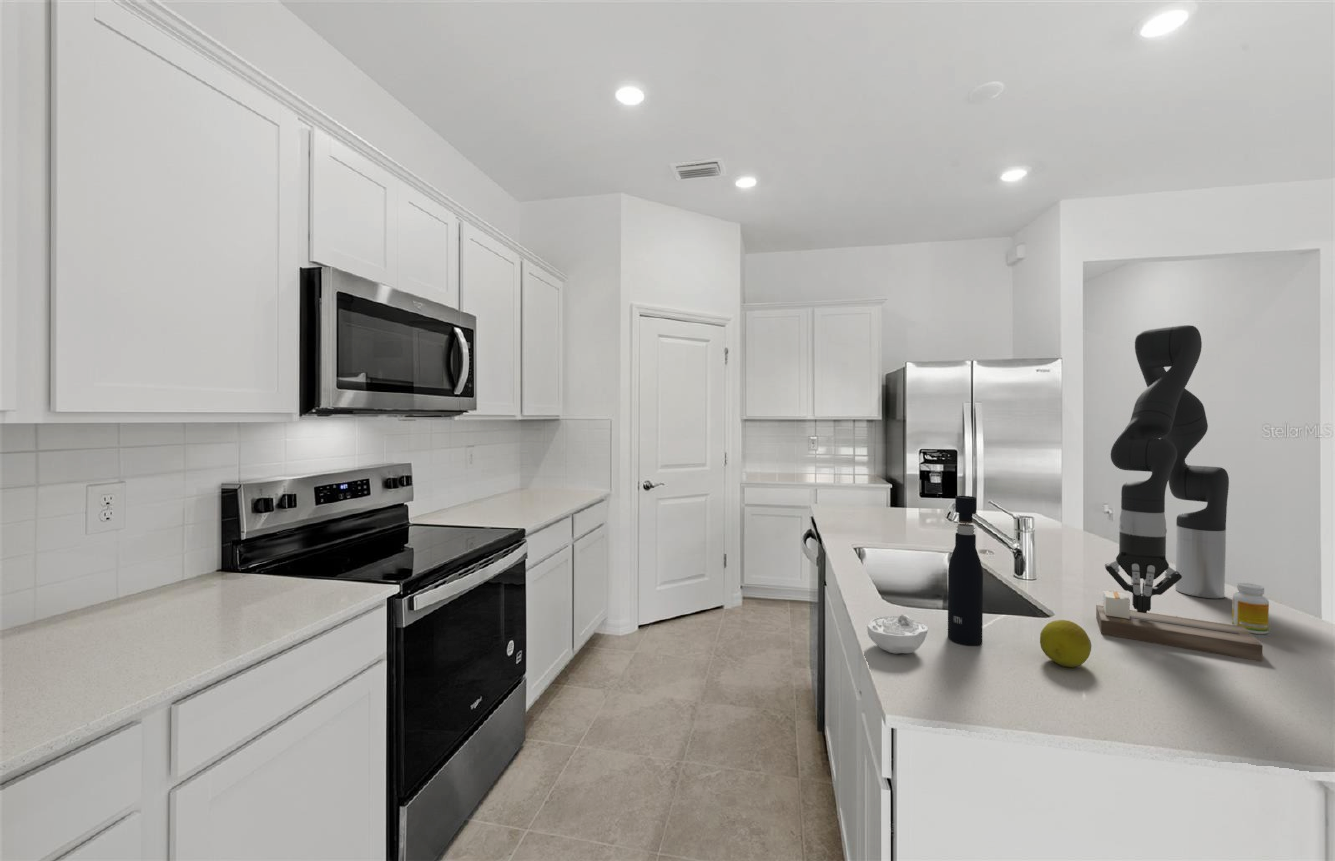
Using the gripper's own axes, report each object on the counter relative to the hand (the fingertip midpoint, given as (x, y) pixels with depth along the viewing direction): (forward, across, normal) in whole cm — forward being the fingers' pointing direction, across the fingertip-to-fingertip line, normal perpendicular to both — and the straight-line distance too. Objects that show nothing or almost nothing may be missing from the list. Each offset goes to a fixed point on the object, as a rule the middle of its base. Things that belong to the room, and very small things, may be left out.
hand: (1141, 611), depth 117 cm
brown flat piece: (+4, -5, 0) cm, 7 cm away
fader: (+2, +4, 0) cm, 4 cm away
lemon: (+5, +14, +26) cm, 30 cm away
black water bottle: (+5, +31, +24) cm, 40 cm away
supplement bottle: (+5, -20, -14) cm, 25 cm away
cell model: (+5, +42, +37) cm, 56 cm away
